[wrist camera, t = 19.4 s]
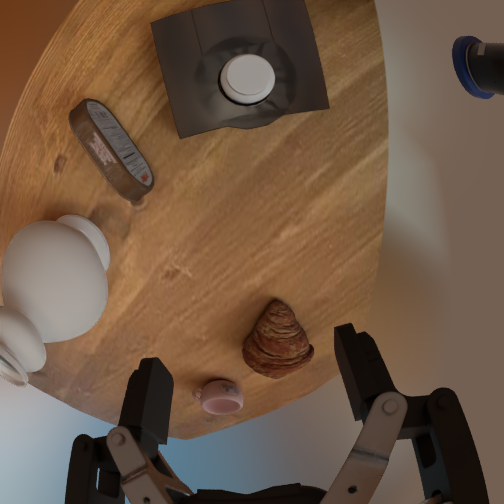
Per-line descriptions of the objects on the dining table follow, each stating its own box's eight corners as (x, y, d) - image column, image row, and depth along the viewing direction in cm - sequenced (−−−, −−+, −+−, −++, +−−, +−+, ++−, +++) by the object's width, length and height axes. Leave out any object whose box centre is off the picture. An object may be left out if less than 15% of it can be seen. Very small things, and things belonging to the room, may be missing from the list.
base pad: (296, 0, 22) (302, -7, 20) (323, 114, 31) (331, 115, 29) (156, 28, 23) (149, 22, 21) (185, 142, 32) (181, 146, 30)
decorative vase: (25, 232, 36) (-57, 325, 14) (80, 176, 33) (-41, 275, 11) (82, 303, 44) (32, 412, 23) (146, 267, 41) (95, 409, 20)
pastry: (216, 338, 50) (215, 372, 43) (278, 294, 45) (285, 328, 39) (272, 370, 57) (276, 400, 50) (329, 336, 52) (340, 367, 46)
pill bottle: (276, 83, 29) (292, 75, 20) (247, 112, 31) (252, 115, 22) (243, 55, 27) (247, 37, 18) (214, 85, 28) (206, 77, 20)
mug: (248, 379, 58) (249, 400, 53) (235, 398, 63) (235, 417, 58) (197, 370, 56) (195, 392, 51) (189, 390, 60) (187, 410, 55)
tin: (88, 108, 28) (54, 114, 21) (105, 93, 27) (72, 94, 20) (147, 190, 35) (126, 214, 28) (164, 177, 34) (146, 199, 27)
